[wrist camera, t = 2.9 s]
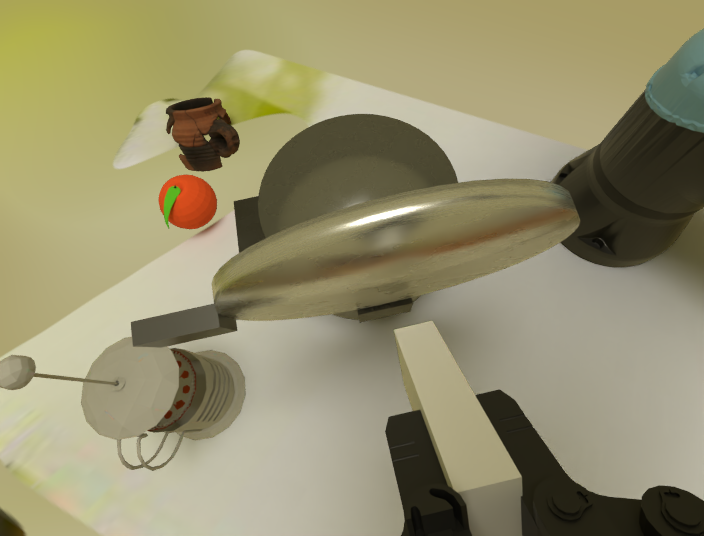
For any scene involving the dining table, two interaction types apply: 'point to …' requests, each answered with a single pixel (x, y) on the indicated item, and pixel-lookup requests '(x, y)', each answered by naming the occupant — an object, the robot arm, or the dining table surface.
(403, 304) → the pressure cooker pot
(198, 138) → the pottery mug
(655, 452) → the dining table surface
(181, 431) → the french press
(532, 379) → the dining table surface
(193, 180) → the clementine
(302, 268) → the cooker lid
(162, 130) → the dining table surface
